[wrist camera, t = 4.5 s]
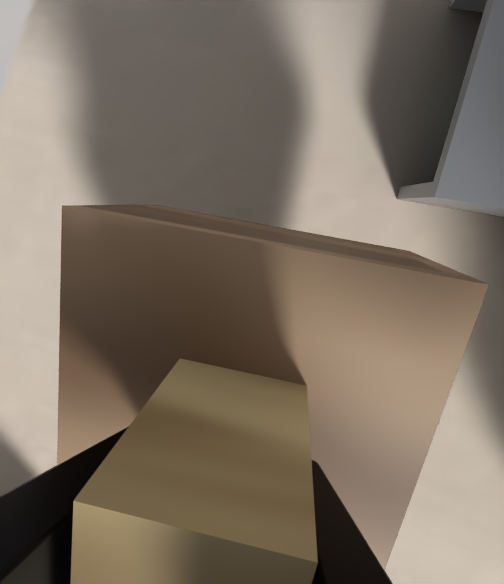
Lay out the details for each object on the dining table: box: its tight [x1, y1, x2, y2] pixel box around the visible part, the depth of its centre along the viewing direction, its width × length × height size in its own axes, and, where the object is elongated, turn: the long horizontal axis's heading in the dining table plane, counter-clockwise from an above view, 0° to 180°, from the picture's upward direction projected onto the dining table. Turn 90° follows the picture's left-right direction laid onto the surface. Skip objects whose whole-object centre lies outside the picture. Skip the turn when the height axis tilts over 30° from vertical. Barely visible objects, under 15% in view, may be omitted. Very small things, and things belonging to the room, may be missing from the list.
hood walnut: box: [57, 205, 489, 584], centre depth 9 cm, size 9×9×9 cm
